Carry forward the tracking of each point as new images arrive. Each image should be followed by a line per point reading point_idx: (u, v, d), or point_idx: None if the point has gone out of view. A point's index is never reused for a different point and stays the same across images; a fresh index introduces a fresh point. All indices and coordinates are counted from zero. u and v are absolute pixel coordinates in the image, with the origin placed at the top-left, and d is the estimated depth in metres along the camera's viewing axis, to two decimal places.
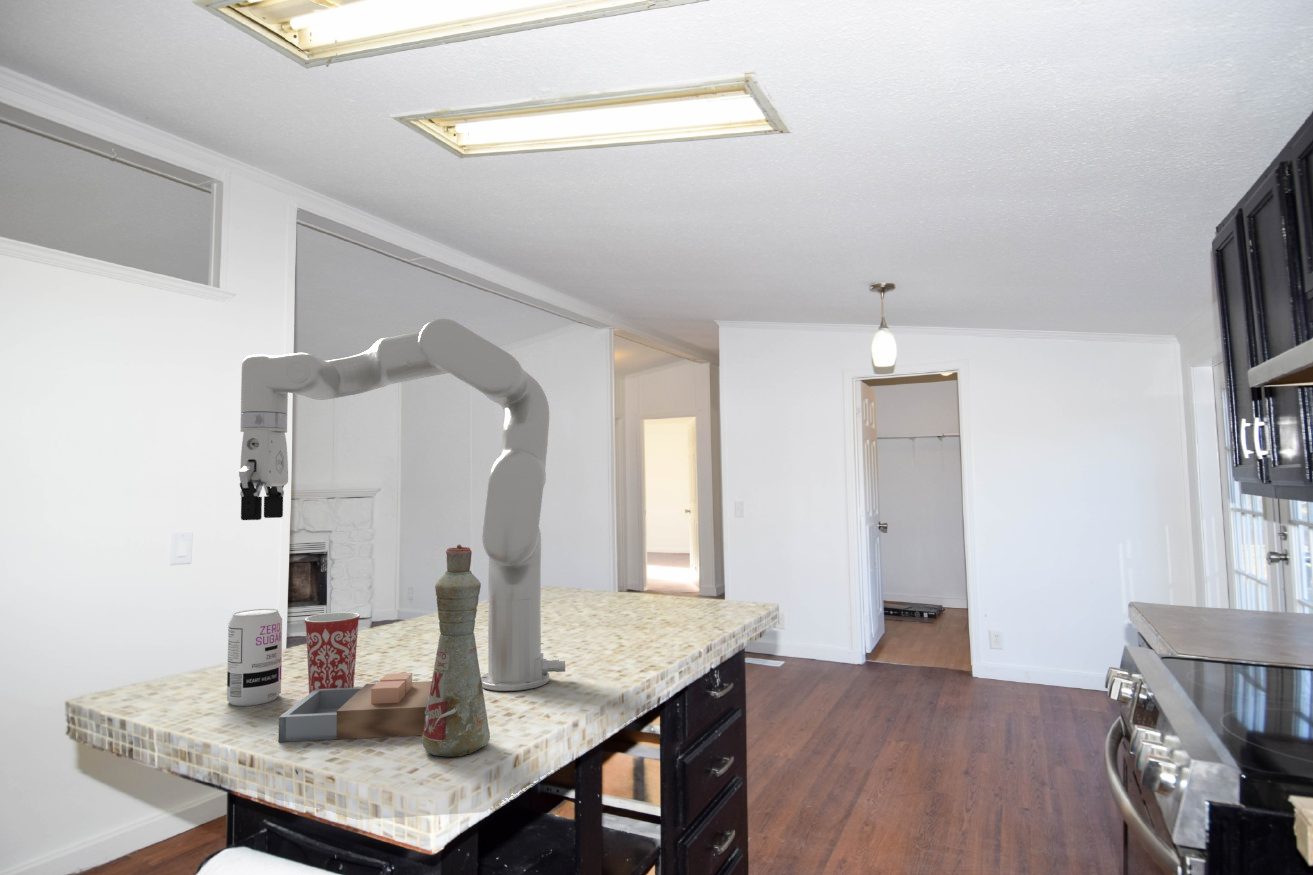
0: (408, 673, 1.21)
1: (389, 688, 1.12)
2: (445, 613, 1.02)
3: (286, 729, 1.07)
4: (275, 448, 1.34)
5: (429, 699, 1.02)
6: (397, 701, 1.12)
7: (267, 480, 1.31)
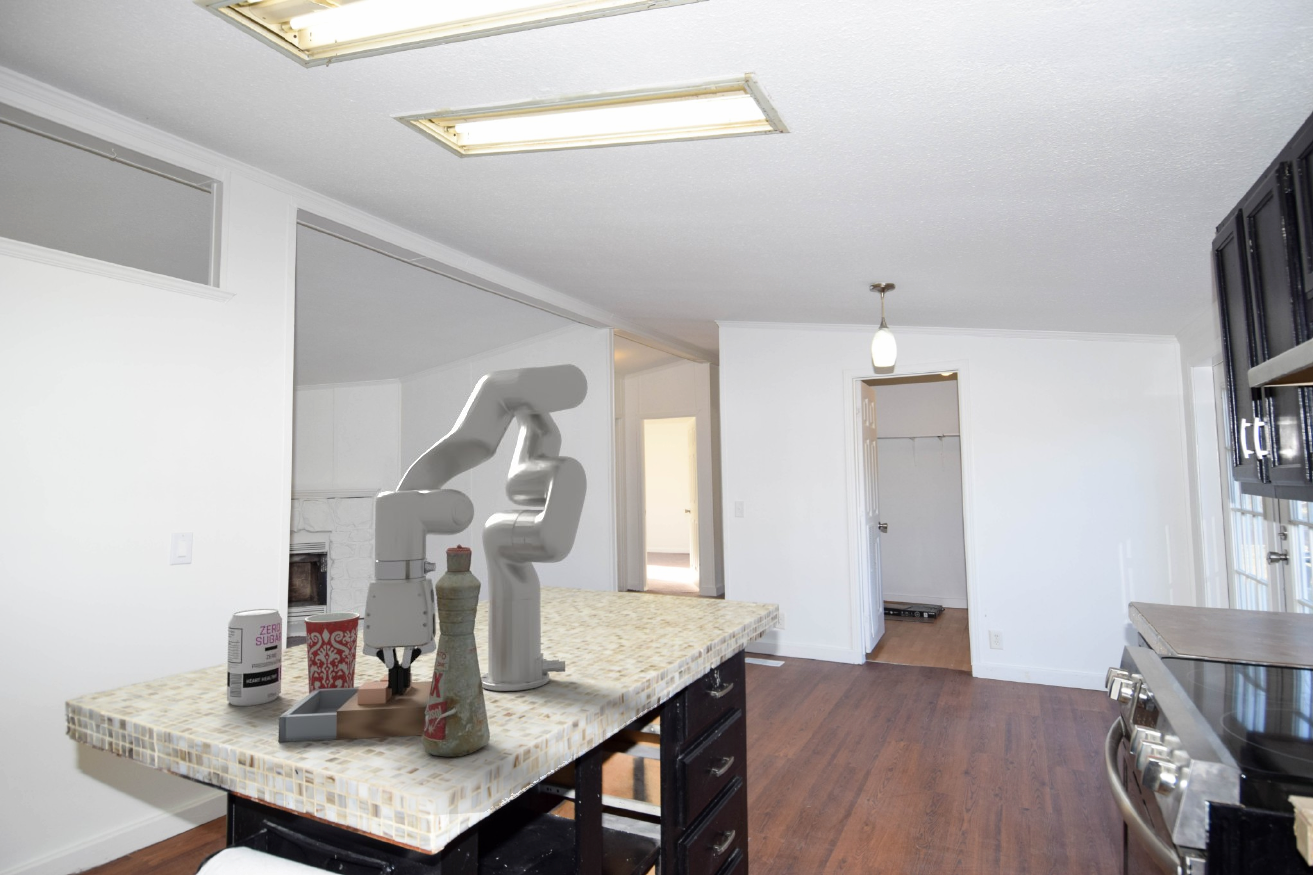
0: None
1: (376, 689, 1.12)
2: (445, 613, 1.02)
3: (286, 729, 1.07)
4: None
5: (429, 699, 1.02)
6: (384, 702, 1.12)
7: (434, 635, 1.17)
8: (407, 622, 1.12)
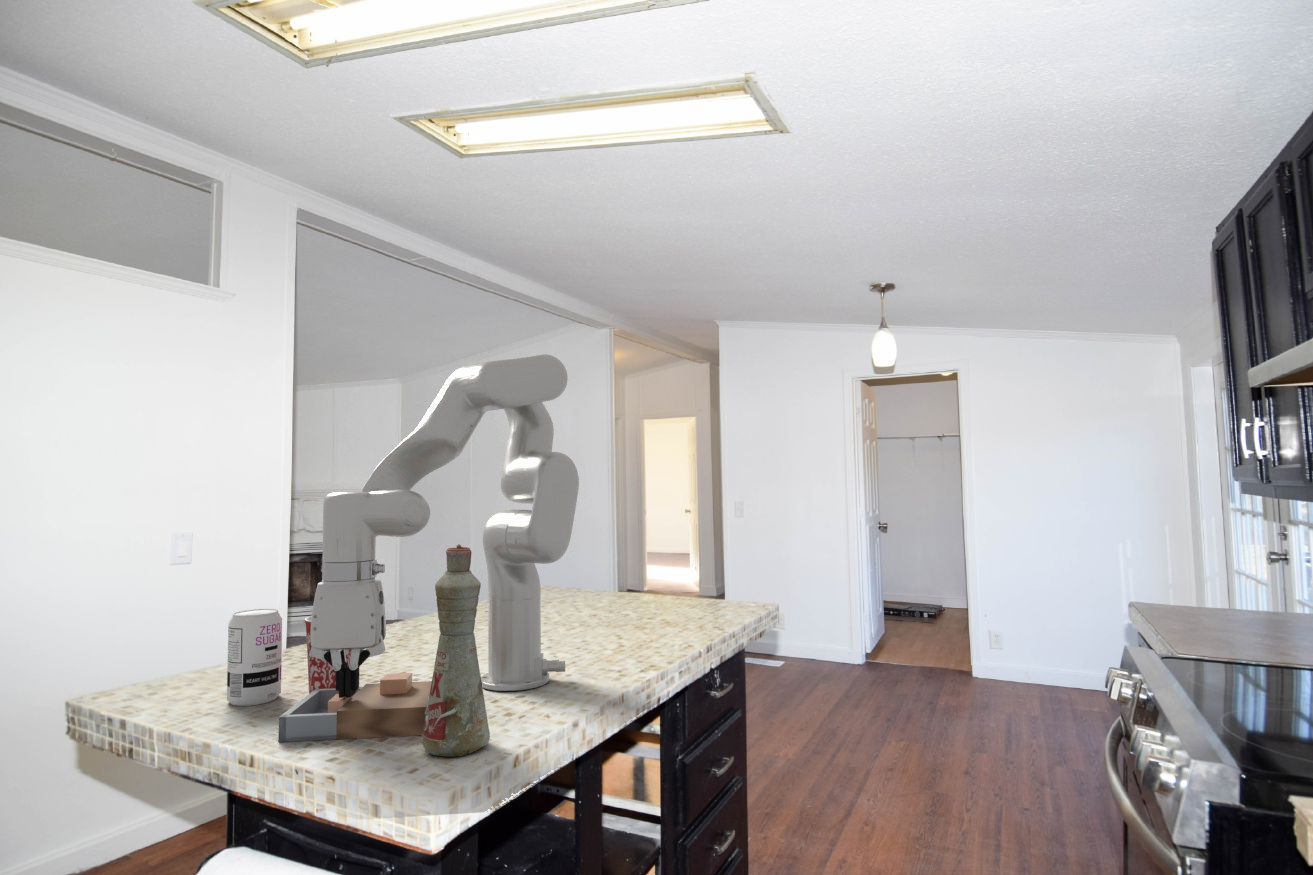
0: (408, 673, 1.21)
1: (328, 710, 1.11)
2: (445, 613, 1.02)
3: (286, 729, 1.07)
4: None
5: (429, 699, 1.02)
6: (342, 701, 1.11)
7: None
8: (354, 624, 1.12)
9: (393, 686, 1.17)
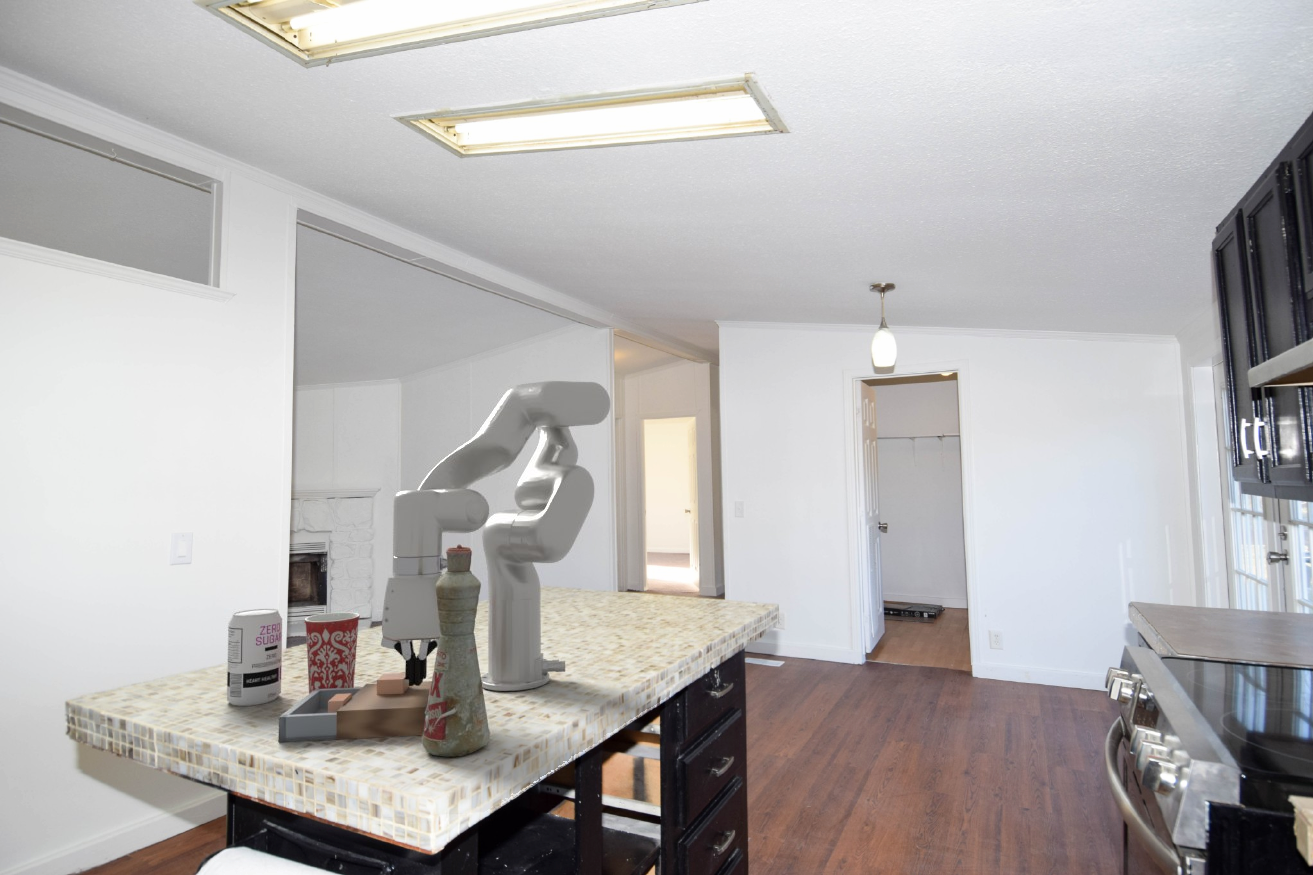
0: None
1: (328, 710, 1.11)
2: (445, 613, 1.02)
3: (286, 729, 1.07)
4: None
5: (429, 699, 1.02)
6: (342, 701, 1.11)
7: None
8: (423, 616, 1.17)
9: (389, 686, 1.17)
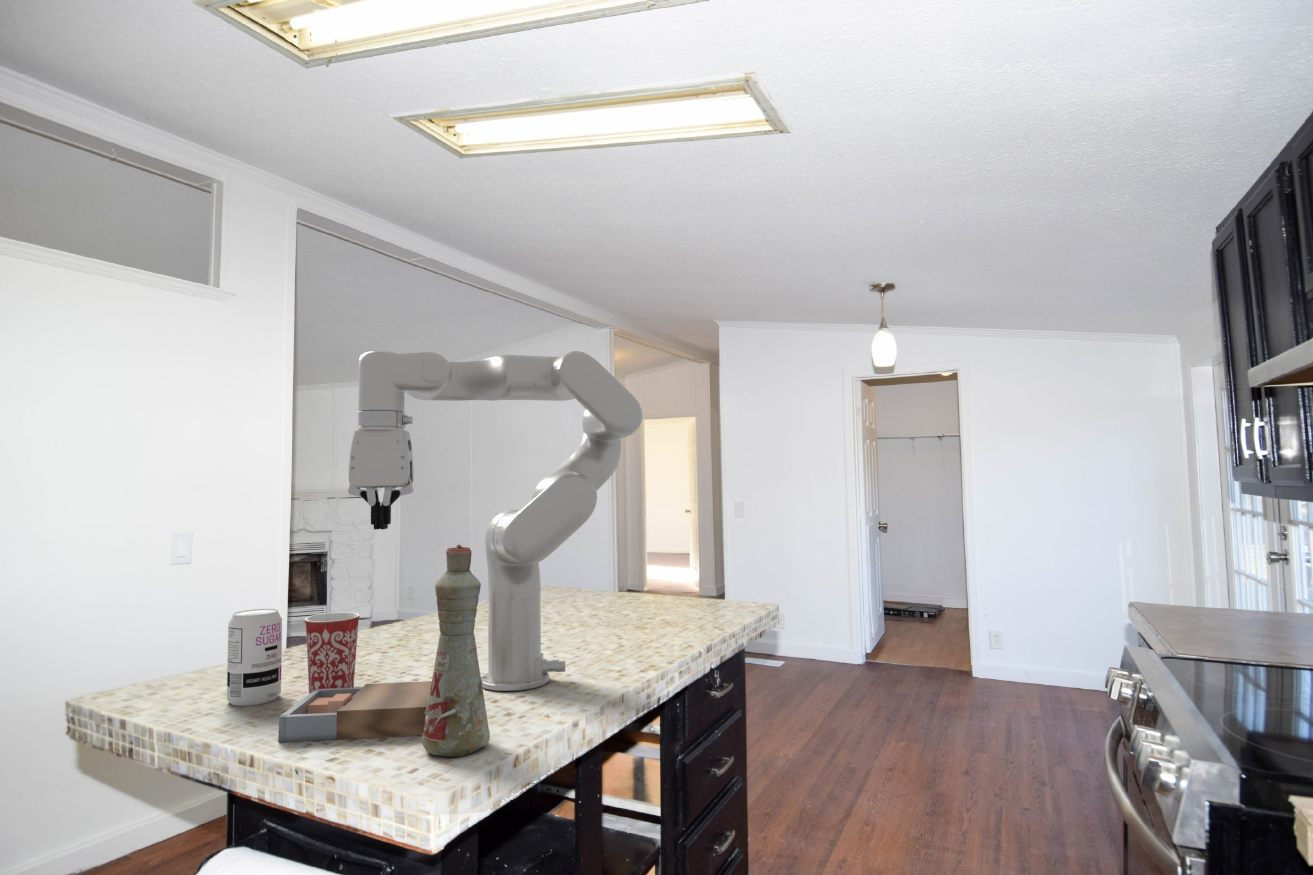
0: None
1: (328, 710, 1.11)
2: (445, 613, 1.02)
3: (286, 729, 1.07)
4: None
5: (429, 699, 1.02)
6: (342, 701, 1.11)
7: None
8: (386, 465, 1.28)
9: (320, 712, 1.16)
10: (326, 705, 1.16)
